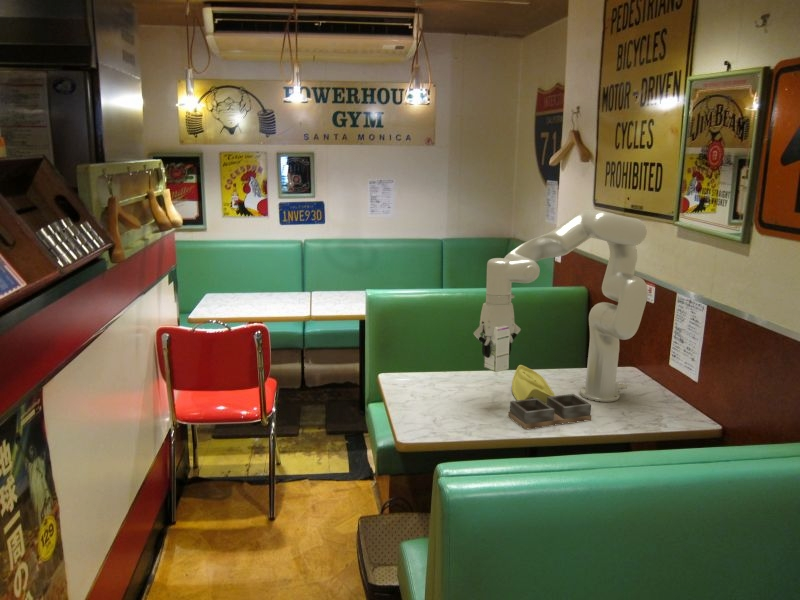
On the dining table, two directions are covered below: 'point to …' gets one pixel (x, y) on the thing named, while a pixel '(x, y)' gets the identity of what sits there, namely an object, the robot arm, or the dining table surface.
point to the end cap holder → (549, 411)
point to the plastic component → (530, 385)
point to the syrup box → (498, 350)
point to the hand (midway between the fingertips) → (496, 354)
